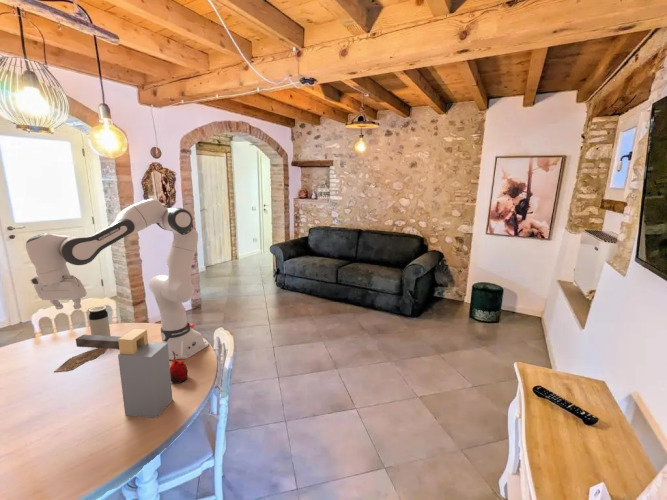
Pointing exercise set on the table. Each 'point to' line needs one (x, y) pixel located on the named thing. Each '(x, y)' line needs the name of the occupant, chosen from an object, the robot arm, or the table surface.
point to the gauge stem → (98, 341)
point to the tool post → (144, 374)
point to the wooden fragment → (80, 359)
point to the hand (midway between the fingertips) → (69, 308)
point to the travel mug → (99, 321)
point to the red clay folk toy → (178, 370)
